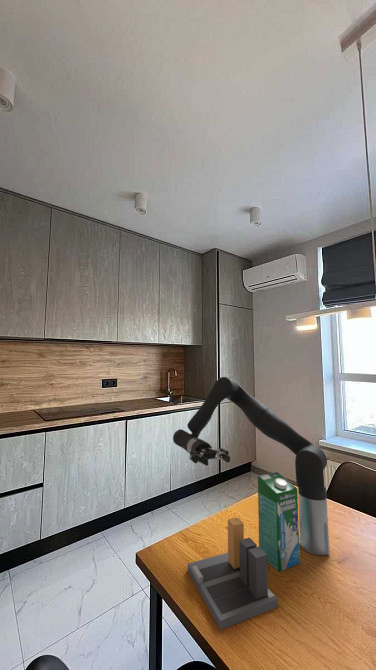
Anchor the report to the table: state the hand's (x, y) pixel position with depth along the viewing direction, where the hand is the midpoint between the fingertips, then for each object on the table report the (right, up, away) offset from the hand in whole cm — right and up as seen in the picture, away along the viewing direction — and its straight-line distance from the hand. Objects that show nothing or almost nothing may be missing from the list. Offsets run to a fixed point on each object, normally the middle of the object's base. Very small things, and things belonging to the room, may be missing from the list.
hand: (218, 461), depth 97 cm
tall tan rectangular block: (+4, -25, -13) cm, 29 cm away
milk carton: (+19, -29, -7) cm, 35 cm away
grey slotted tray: (+1, -27, -19) cm, 33 cm away
